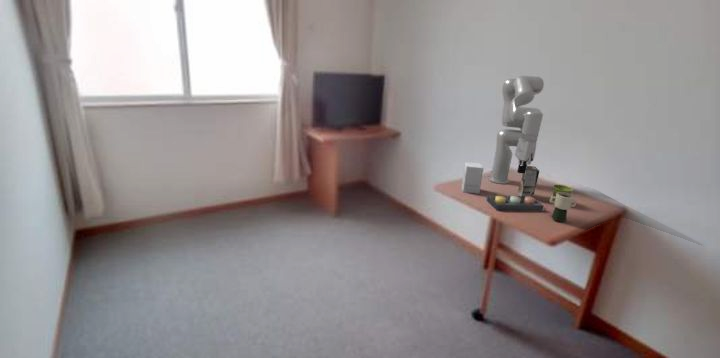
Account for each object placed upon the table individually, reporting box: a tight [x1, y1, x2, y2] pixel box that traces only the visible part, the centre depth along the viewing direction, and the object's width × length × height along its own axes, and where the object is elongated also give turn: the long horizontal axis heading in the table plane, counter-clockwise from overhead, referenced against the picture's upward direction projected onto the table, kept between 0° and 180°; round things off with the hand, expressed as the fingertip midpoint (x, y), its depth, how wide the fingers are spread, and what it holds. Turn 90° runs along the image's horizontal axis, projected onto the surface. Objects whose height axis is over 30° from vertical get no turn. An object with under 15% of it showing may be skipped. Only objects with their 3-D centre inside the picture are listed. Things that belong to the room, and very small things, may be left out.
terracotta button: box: [524, 196, 537, 203], centre depth 191 cm, size 5×5×4 cm
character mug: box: [549, 192, 577, 223], centre depth 175 cm, size 11×7×13 cm, turn 71°
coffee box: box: [517, 165, 540, 197], centre depth 203 cm, size 9×6×16 cm
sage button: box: [510, 195, 521, 203], centre depth 190 cm, size 5×5×4 cm
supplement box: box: [461, 161, 484, 195], centre depth 206 cm, size 9×9×15 cm
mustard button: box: [495, 195, 506, 203], centre depth 189 cm, size 5×5×4 cm
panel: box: [486, 195, 544, 212], centre depth 190 cm, size 12×24×3 cm, turn 96°
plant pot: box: [552, 184, 573, 201], centre depth 197 cm, size 9×9×9 cm
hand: (520, 172), depth 185 cm, fingers closed
